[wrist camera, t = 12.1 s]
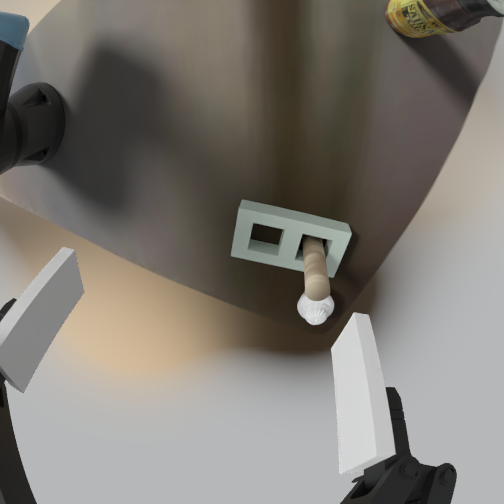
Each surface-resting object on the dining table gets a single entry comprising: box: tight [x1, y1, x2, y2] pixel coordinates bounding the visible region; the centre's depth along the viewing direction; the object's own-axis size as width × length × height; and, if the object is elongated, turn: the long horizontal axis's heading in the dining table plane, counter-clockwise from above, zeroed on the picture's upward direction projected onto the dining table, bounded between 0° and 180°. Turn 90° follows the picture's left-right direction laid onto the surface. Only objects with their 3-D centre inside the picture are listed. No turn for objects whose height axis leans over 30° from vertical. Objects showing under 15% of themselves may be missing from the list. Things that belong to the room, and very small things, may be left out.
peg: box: [302, 234, 330, 301], centre depth 38 cm, size 3×3×12 cm
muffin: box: [297, 292, 334, 325], centre depth 46 cm, size 6×6×7 cm
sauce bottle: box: [385, 0, 504, 38], centre depth 15 cm, size 6×6×20 cm
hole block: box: [231, 199, 352, 278], centre depth 42 cm, size 16×8×3 cm, turn 80°
